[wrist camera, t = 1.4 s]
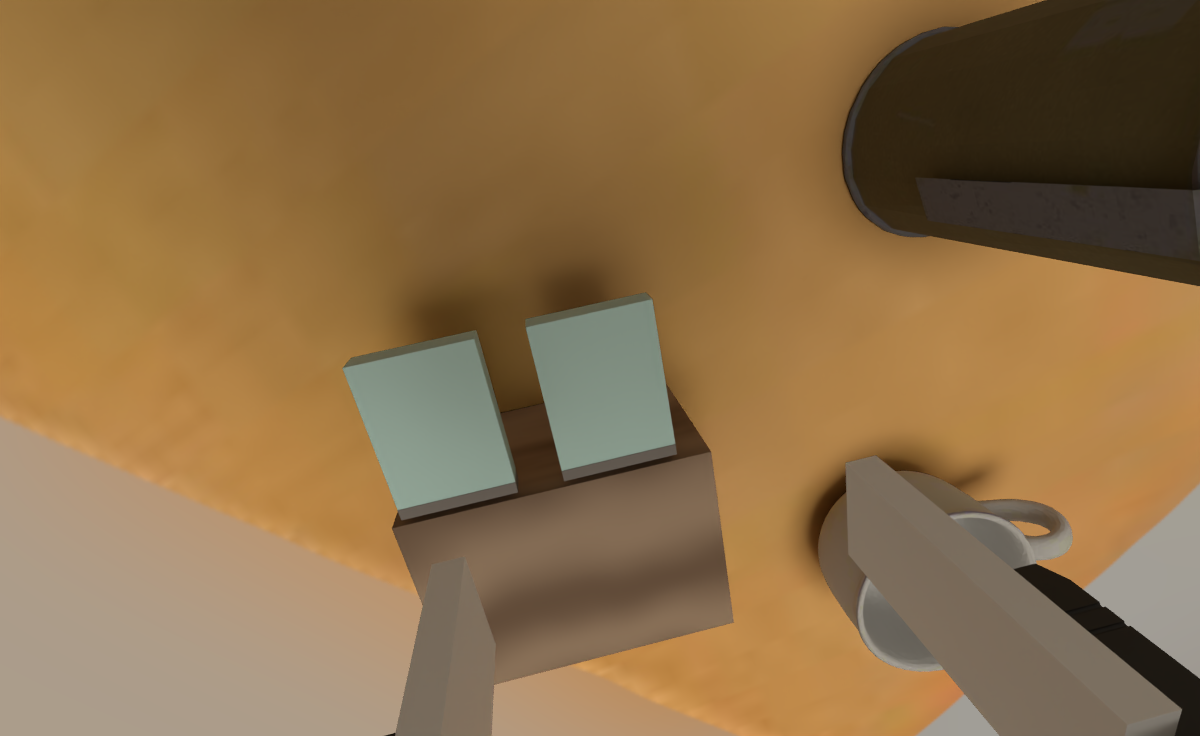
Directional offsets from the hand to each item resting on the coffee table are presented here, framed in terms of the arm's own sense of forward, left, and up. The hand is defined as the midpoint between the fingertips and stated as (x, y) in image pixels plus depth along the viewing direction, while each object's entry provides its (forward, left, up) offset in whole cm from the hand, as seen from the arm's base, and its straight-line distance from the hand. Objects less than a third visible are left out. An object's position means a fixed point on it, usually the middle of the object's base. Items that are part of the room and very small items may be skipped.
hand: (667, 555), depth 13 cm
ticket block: (+9, -3, -19) cm, 22 cm away
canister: (-6, +20, -20) cm, 29 cm away
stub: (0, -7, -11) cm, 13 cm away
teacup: (+18, +18, -20) cm, 32 cm away
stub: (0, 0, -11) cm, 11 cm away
